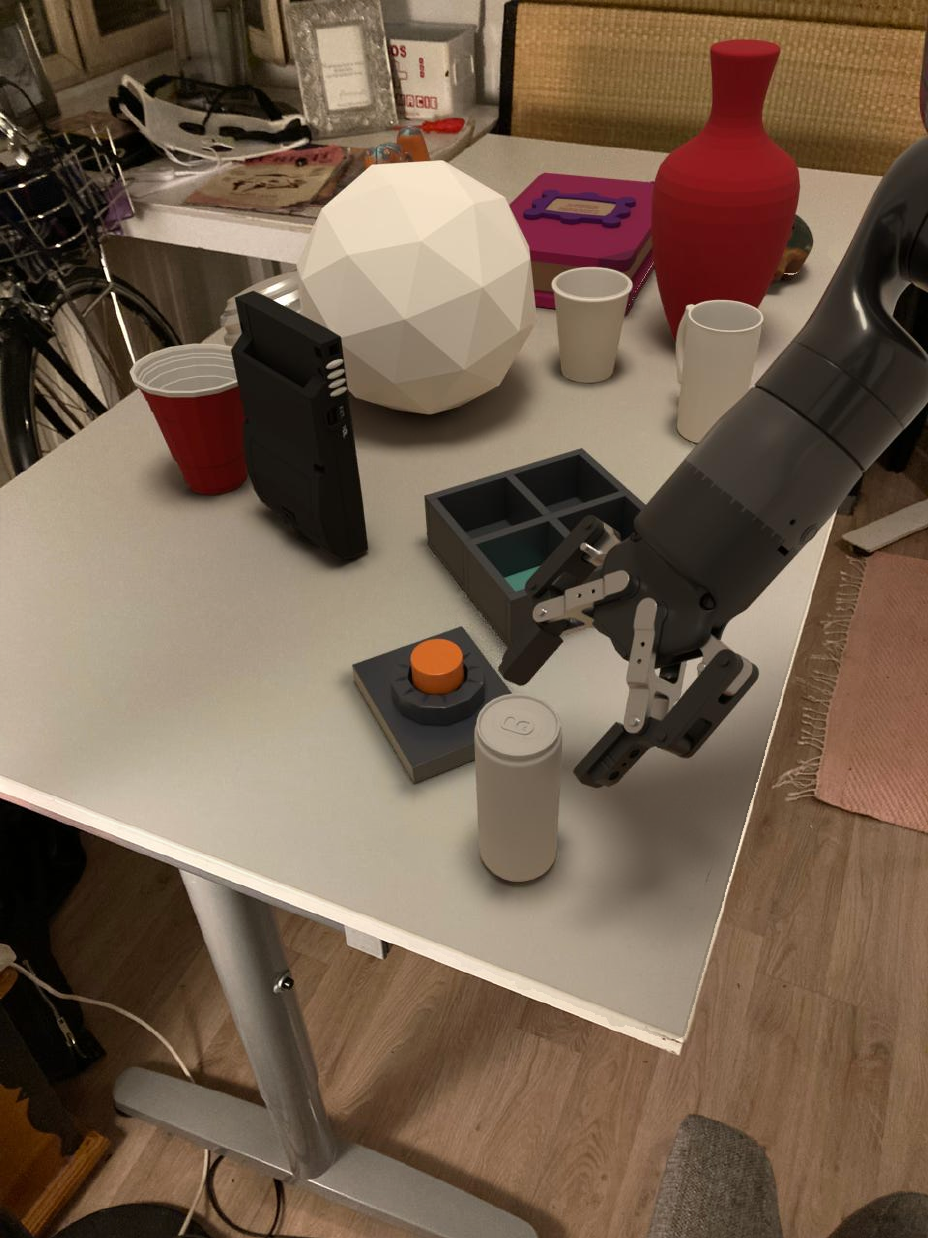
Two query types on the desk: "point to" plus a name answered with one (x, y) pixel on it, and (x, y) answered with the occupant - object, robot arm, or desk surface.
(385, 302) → the lamp
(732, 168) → the vase
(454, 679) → the button
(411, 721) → the panel
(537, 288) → the book
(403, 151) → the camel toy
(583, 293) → the dixie cup
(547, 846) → the beverage can
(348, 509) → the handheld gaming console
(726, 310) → the mug
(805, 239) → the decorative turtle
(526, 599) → the divided tray
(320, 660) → the desk surface
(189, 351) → the plastic cup
